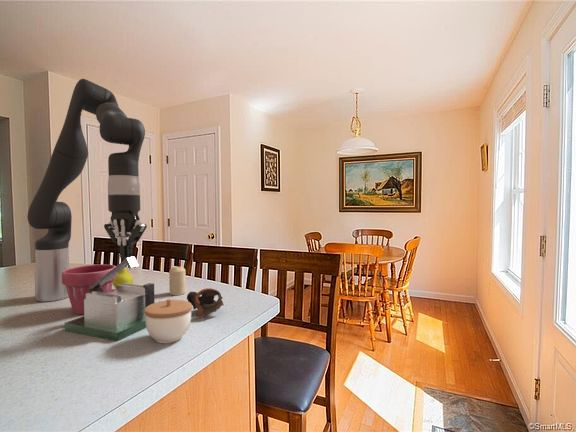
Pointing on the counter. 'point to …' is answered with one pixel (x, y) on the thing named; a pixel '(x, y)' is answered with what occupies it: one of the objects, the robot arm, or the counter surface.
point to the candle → (177, 280)
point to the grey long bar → (115, 271)
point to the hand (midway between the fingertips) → (125, 259)
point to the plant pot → (84, 283)
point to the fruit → (123, 278)
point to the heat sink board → (114, 312)
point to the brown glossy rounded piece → (205, 301)
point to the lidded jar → (168, 320)
